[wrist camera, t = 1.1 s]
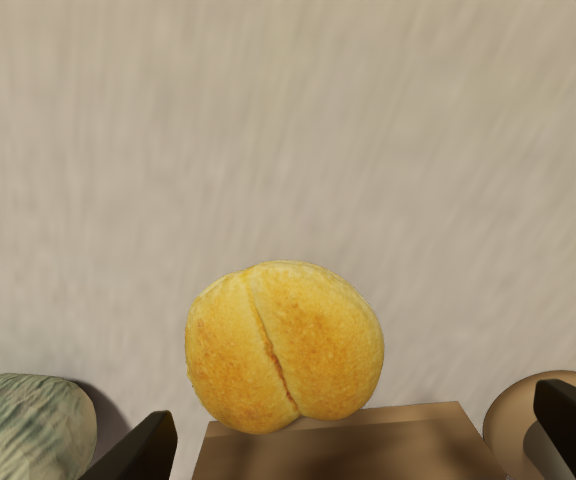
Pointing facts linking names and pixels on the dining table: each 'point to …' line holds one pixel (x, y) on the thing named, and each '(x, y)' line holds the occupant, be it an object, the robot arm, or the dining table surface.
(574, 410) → the robot arm
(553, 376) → the orange capped knob
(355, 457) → the notch board
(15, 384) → the spool
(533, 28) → the dining table surface
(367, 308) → the bread roll
